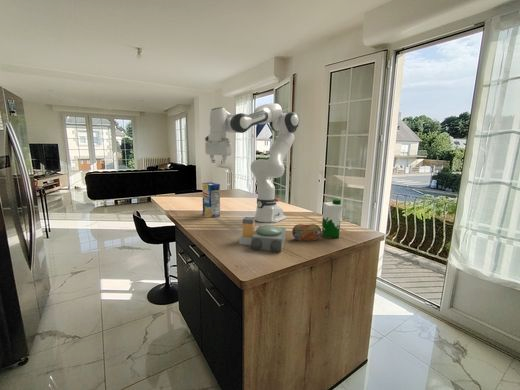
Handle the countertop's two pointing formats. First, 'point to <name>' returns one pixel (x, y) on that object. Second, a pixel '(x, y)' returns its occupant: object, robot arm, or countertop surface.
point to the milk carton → (331, 218)
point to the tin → (306, 232)
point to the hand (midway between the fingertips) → (218, 163)
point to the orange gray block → (248, 226)
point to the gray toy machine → (266, 238)
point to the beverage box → (211, 199)
